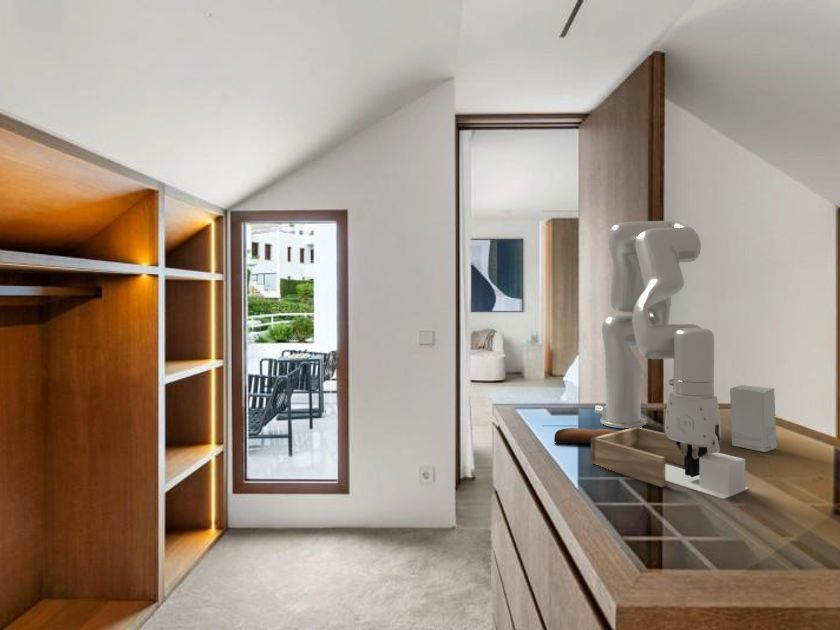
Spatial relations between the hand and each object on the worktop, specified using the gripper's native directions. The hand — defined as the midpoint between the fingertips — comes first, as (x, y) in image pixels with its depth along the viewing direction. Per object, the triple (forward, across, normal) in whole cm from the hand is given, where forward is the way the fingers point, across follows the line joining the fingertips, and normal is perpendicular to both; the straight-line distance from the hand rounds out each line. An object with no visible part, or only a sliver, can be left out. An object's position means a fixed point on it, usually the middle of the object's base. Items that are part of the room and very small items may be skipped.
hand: (693, 474), depth 120 cm
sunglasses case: (+2, -32, +5) cm, 32 cm away
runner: (+1, -4, 0) cm, 4 cm away
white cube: (+1, +6, 0) cm, 6 cm away
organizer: (+1, -11, 0) cm, 11 cm away
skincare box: (+2, -5, +32) cm, 33 cm away
